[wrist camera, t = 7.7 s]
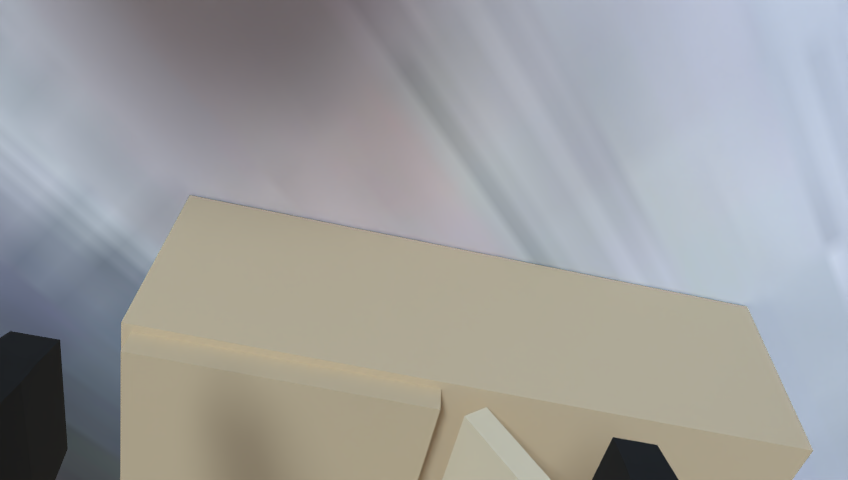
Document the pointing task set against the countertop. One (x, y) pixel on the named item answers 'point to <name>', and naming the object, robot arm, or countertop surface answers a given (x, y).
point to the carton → (424, 361)
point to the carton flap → (489, 452)
